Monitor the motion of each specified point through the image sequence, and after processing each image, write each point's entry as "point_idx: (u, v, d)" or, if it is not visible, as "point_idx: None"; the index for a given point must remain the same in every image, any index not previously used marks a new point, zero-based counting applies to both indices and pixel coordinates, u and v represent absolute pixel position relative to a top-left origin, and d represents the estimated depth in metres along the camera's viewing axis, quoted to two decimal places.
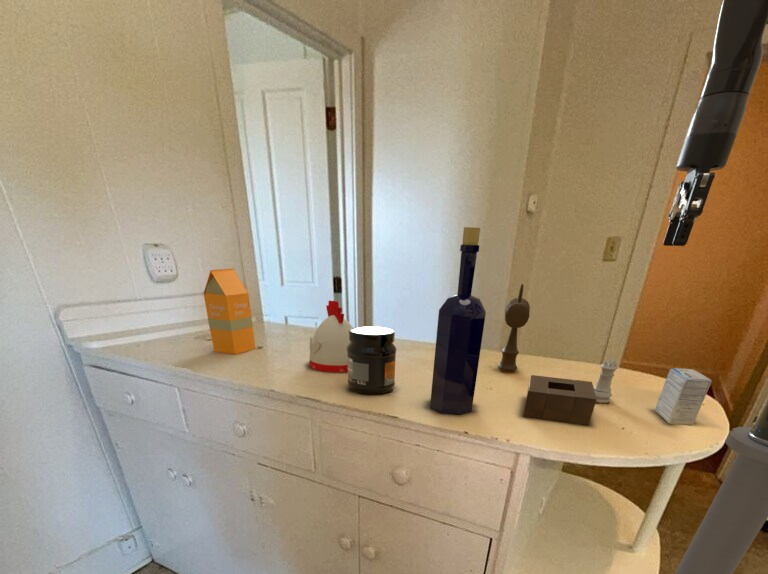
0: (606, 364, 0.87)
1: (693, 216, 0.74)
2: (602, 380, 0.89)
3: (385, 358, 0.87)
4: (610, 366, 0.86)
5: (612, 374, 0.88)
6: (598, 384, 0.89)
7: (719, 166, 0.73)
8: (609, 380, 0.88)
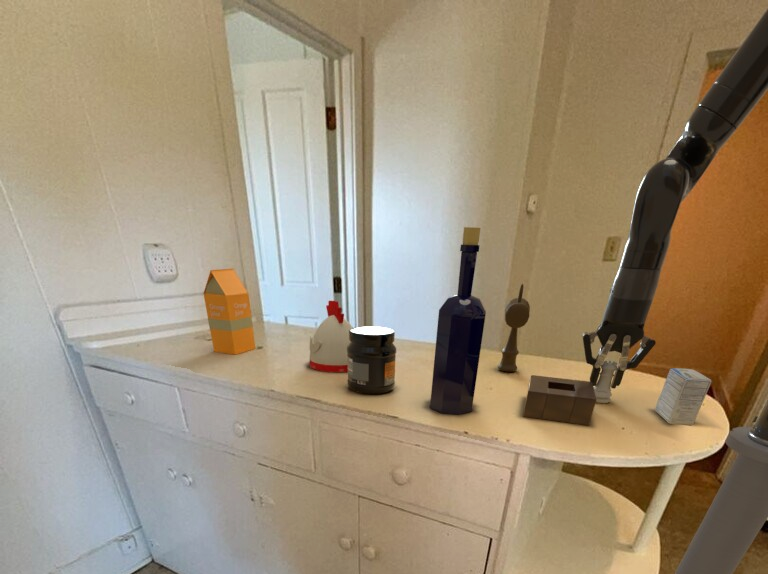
0: (606, 364, 0.87)
1: None
2: (602, 380, 0.89)
3: (385, 358, 0.87)
4: (610, 366, 0.86)
5: (612, 374, 0.88)
6: (598, 384, 0.89)
7: (611, 323, 0.82)
8: (609, 380, 0.88)
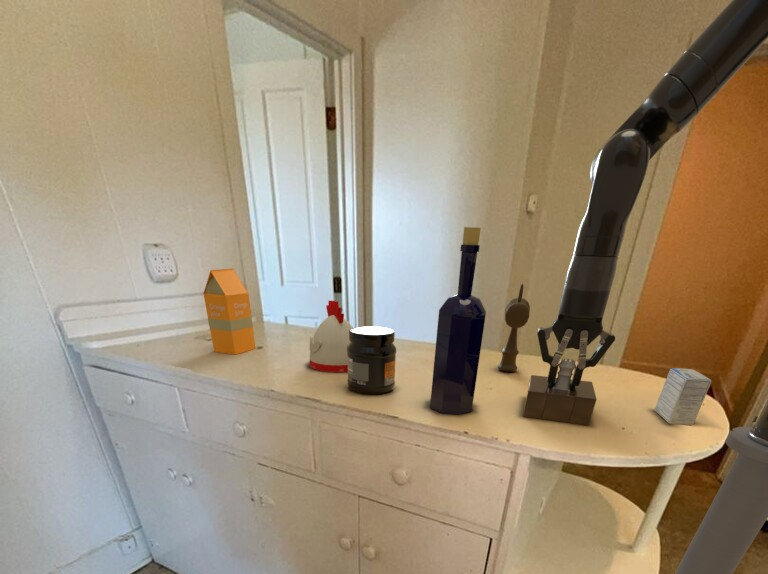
0: (563, 362, 0.79)
1: (545, 361, 0.81)
2: (560, 380, 0.81)
3: (385, 358, 0.87)
4: (568, 364, 0.79)
5: (570, 373, 0.80)
6: (556, 384, 0.82)
7: (566, 316, 0.74)
8: (568, 379, 0.81)
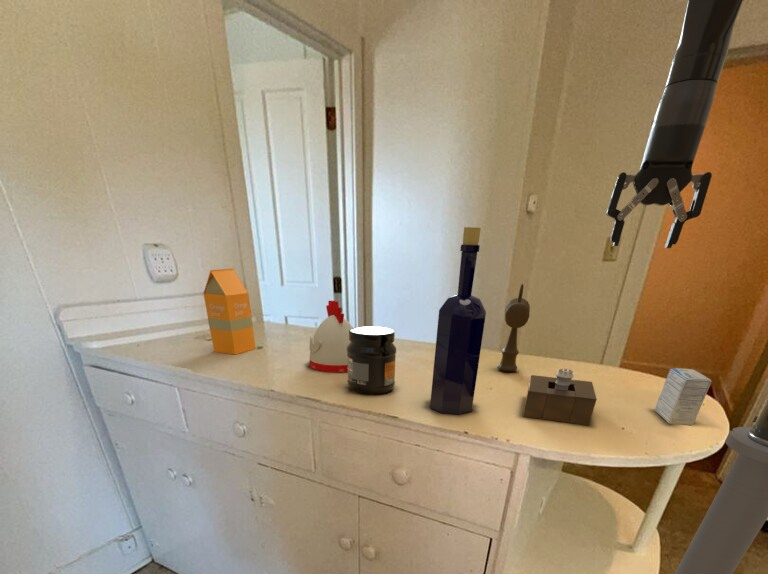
0: (561, 372, 0.80)
1: (610, 216, 0.75)
2: None
3: (385, 358, 0.87)
4: (565, 374, 0.80)
5: (568, 383, 0.81)
6: None
7: (653, 161, 0.68)
8: (565, 389, 0.82)
